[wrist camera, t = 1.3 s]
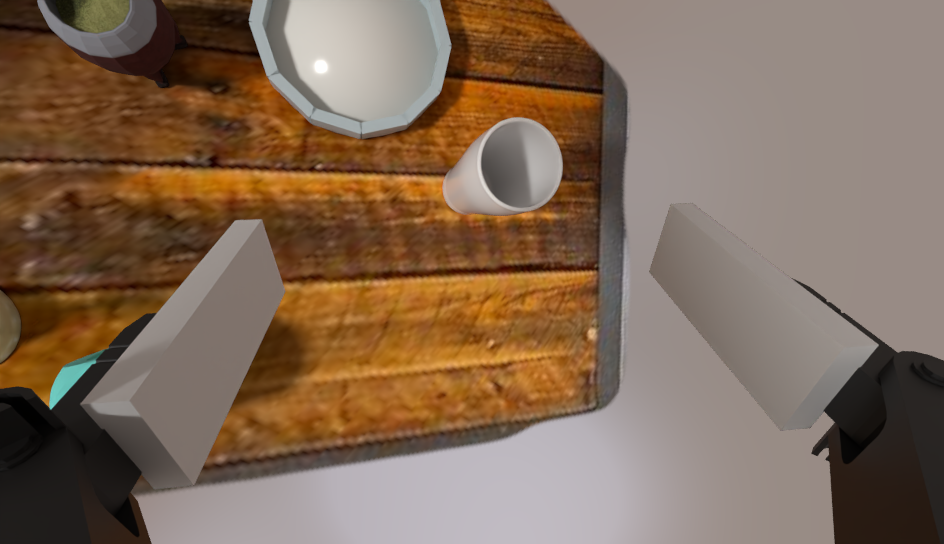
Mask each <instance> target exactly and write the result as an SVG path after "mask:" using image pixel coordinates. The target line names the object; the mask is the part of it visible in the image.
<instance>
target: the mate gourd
mask: <svg viewBox="0 0 944 544" xmlns="http://www.w3.org/2000/svg"><path fill="white" fill-rule="evenodd" d="M37 2H38V6H39V8H40V10H41V12H42V14H43V16H44V18H45V20H46V22H47V24H48V26H49V27H50V28H51V29H52V30H53V31H54V32H55V34H56V35H57V36H58V37H59V38H60V39H61V40H62V41H64V42H65V43H66V44H67V45H68V46H69V47H70V48H71V49H72V50H74V51H75V52H76V53H77V54H78V55H79V56H80V57H81V58H83V59H85V60H87V61H89V62H92V63H94V64H96V65H98V66H100V67H103V68H105V69H107V70H109V71H112V72H117V73H122V74H128V75H134V76H145V77H147V78H148V79H151V80H154V81H155V82H156V84H157V85H158V87H160V88H165V87H168V86H169V83H168V80H167V78H166V76H165V74H164V72H163V70H162V67H163V66H165V65H166V64H167V63H168V62H169V60H170V58H171V56H172V54H173V52H174V50H177V49H181V48H185V47H187V42H186V40H185V38H184V37H183V36H182V35H181V36H180V35H179V30H178V27H177V24H176V23H175V21H174V20H173V18H172V16H171V15H170V13H169V12H168V10H167V9H166V7H165V5H164V4H163V2H162V1H161V0H37Z"/></svg>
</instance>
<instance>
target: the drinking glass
mask: <svg viewBox="0 0 944 544" xmlns="http://www.w3.org/2000/svg"><path fill="white" fill-rule="evenodd" d="M562 172H563V161H562V155H561V151H560V148H559V146H558V144H557V142H556V140H555V138H554V137H553V135H552V134H551V133H550V132H549V131H548V130H547V129H546V128H545V127H544V126H543V125H541V124H539V123H538V122H536V121H533V120H531V119H527V118H520V117H517V118H509V119H506V120H503V121H501V122H499V123H497V124H496V125H494V126H493V127H491V128H490V129H488V130H487V131H485V132H484V133H483V134H481V135H480V136H479V137H478V138H477V139H476V140H475V141H474V142H473V143H472V144H471V145H470V146H469V147H468V149H467V150H466V151H465V153H464V154H463V155H462V157H461V158H460V159H459V161H458V162H457V163H456V165H455V166H454V167H453V168H452V169H451V170H450V171H449V172H448V173H447V174H446V176H445V178H444V181H443V195H444V198H445V201H446V202H447V204H448V205H449V206H450V207H451V208H452V209H453V210H454V211H456V212H458V213H461V214H465V215H471V214H482V215H494V216H508V215H516V214H520V213H524V212H528V211H532V210H535V209H537V208H539V207H541V206H543V205H544V204H545V203H547V202H548V201H549V200H550V199H551V198H552V197H553V195H554V194H555V192H556V191H557V189H558V187H559V184H560V182H561V178H562Z"/></svg>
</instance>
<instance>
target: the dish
mask: <svg viewBox="0 0 944 544" xmlns="http://www.w3.org/2000/svg"><path fill="white" fill-rule="evenodd" d="M249 24H250V27H251V30H252V33H253V36H254V39H255V42H256V45H257V48H258V51H259V54H260V57H261V60H262V63H263V66H264V69H265V72H266V75H267V77H268V79H269V81H270V83H271V84H272V86H273V87H274V88H275V89H276V90H277V91H278V92H279V93H280V94H281V95H282V96H283V97H284V98H285V99H286V100H287V101H288V102H289V103H290V104H291V105H292V106H293V107H294V108H295V109H296V110H297V111H298V112H300V113H301V114H302V115H303V116H304V117H305V118H306V119H307V120H308V121H309V122H310V123H312V124H313V125H316V126H319V127H322V128H325V129H327V130H330V131H332V132H335V133H338V134H342V135H346V136H351V137H355V138H358V139H360V138H362V139H366V138H370V137H378V136H384V135H388V134H391V133H394V132H398V131H402V130H405V129H407V128H408V127H409V126H410V125H411V124H412V123H413V122H414V121H415V120H416V119H417V118H419V117H420V116H421V115H422V114H423V113H424V111H425V110H426V109H427V108H428V107H429V106H430V105H431V104H432V103H433V102H434V101H435V100H436V99H437V97H438V96H439V94H440V92H441V89H442V85H443V81H444V77H445V72H446V68H447V64H448V60H449V55H450V51H451V41H450V38H449V34H448V30H447V26H446V22H445V19H444V15H443V11H442V7H441V3H440V0H253V4H252V8H251V12H250V17H249Z"/></svg>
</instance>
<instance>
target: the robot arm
mask: <svg viewBox="0 0 944 544" xmlns="http://www.w3.org/2000/svg"><path fill="white" fill-rule="evenodd" d="M649 272H650V273H651V275H652V276H653V277H654V278H655V280H656V281H657V282H658V283H659V284H660V286H661V287H662V288H663V289H664V290H665V292H666V293H667V294H668V295H669V297H670V298H671V299H672V300H673V301H674V303H675V304H676V305H677V306H678V307H679V309H680V310H681V311H682V312H683V313H684V314H685V316H686V317H687V318H688V319H689V321H690V322H691V323H692V324H693V326H694V327H695V328H696V329H697V330H698V332H699V333H700V334H701V335H702V336H703V338H704V339H705V340H706V341H707V343H708V344H709V345H710V346H711V347H712V349H713V350H714V351H715V352H716V353H717V355H718V356H719V357H720V358H721V359H722V361H723V362H724V363H725V364H726V366H727V367H728V368H729V369H730V370H731V372H732V373H733V374H734V375H735V376H736V378H737V379H738V380H739V381H740V382H741V384H742V385H743V386H744V387H745V388H746V390H747V391H748V392H749V393H750V394H751V396H752V397H753V398H754V399H755V401H756V402H757V403H758V404H759V405H760V407H761V408H762V409H763V410H764V411H765V413H766V414H767V415H768V416H769V417H770V419H771V420H772V421H773V422H774V424H775V425H776V426H777V427H778V428H779V430H780V431H783V430H794V429H806V428H811V427H812V425H813V424H814V423H815V422H816V420H817V419H818V418H819V417H820V416H821V414H822V413H823V412H824V411H825V413H826V414H827V415H828V416H829V417H830V418H831V419H833V421H834V422H835V423H834V424H833V425H832V427H831V428H830V429H829V430H828V431H827V432H826V434H825V435H824V436H823V437H822V438H821V439H820V440H819V441H818V443H817V444H816V445H815V446H814V447H813V450H812V454H814V455H816V456H818V455H819V453H820V452H821V451H822V450H823V449H824V448H829V456H828V457H827V458H826V460H827V461H829V462H830V474H831V491H832V507H833V523H834V539H835V544H944V361H943V360H941V359H938V358H935V357H933V356H930V355H927V354H922V353H918V352H914V351H913V352H912V351H911V352H909V351H902V352H899V353H897V352H896V351H895V350H893V349H892V348H891V347H889V346H888V345H887V344H885V343H884V342H882V341H881V340H880V339H878V338H877V337H876V336H875V335H873V334H872V333H871V332H869V331H868V330H867V329H865V328H864V327H862V326H861V325H860V324H859V323H857V322H856V321H855V320H853V319H852V318H851V317H849V316H848V315H846V314H845V313H841V310H840V309H838V308H837V307H836V306H834V305H833V304H832V303H830V302H827V301H826V299H825V298H824V297H822V296H821V295H820V294H818V293H817V292H816V291H814V290H813V289H812V288H810V287H808V286H807V285H805V284H803V283H801V282H798V281H796V280H794V279H792V278H790V277H789V276H788V275H786V274H785V273H784V272H782V271H781V270H780V269H778V268H777V267H776V266H774V265H773V264H772V263H770V262H769V261H768V260H766V259H765V258H764V257H763V256H761V255H760V254H759V253H757V252H756V251H755V250H753V249H752V248H751V247H749V246H748V245H747V244H746V243H744V242H743V241H742V240H740V239H739V238H738V237H736V236H735V235H734V234H732V233H731V232H730V231H728V230H727V229H726V228H724V227H723V226H722V225H720V224H719V223H718V222H717V221H715V220H714V219H712V218H711V217H710V216H709V215H707V214H706V213H705V212H703V211H702V210H701V209H699V208H698V207H697V206H696V205H694V204H693V203H685V204H671V205H670V208H669V211H668V215H667V217H666V221H665V224H664V227H663V230H662V233H661V236H660V240H659V243H658V246H657V249H656V252H655V255H654V258H653V261H652V264H651V268H650V271H649ZM284 293H285V289H284V286H283V283H282V280H281V277H280V274H279V271H278V268H277V265H276V262H275V259H274V255H273V252H272V249H271V246H270V243H269V240H268V237H267V234H266V231H265V228H264V225H263V222H262V220H236V221H235V222H234V223H233V224H232V225H231V226H230V227H229V229H228V230H227V231H226V232H225V233H224V235H223V236H222V237H221V238H220V239H219V240H218V242H217V243H216V244H215V245H214V246H213V248H212V249H211V250H210V251H209V252H208V254H207V255H206V256H205V257H204V258H203V259H202V261H201V262H200V263H199V264H198V265H197V267H196V268H195V269H194V270H193V271H192V272H191V274H190V275H189V276H188V277H187V278H186V280H185V281H184V282H183V283H182V284H181V285H180V287H179V288H178V289H177V290H176V291H175V293H174V294H173V295H172V296H171V297H170V298H169V300H168V301H167V302H166V303H165V304H164V306H163V307H162V308H161V309H160V310H159V311H158V313H152V314H145V315H144V316H142V317H141V318H139V319H138V320H136V321H135V322H133V323H132V324H131V325H129V326H128V327H126V328H125V329H123V331H122V332H121V333H120V334H119V335H118V336H117V337H116V338H115V339H114V341H113V342H112V343H111V344H110V345H109V349H105V350H104V352H103V353H102V354H101V355H100V356H99V357H98V358H97V359H96V363H95V364H92V365H91V366H90V367H89V368H88V369H87V370H86V371H85V373H84V374H83V375H82V376H81V377H80V378H79V379H78V380H77V381H76V383H75V384H74V385H73V386H72V387H71V388H70V389H69V390H68V391H67V392H66V394H65V395H64V396H63V397H62V398H61V399H60V400H59V401H58V402H57V403H56V405H55V406H54V407H53V408H52V409H50V408H49V407H48V406H47V405H46V404H45V403H44V402H43V401H42V400H41V399H40V398H39V397H38V396H37V395H36V394H35V393H34V391H33V390H32V389H29V388H24V387H11V388H4V389H0V544H151V541H150V538H149V535H148V531H147V529H146V525H145V522H144V519H143V516H142V513H141V511H140V507H139V504H138V501H137V500H136V499H135V497H134V496H133V495H132V494H131V493H130V492H131V490H132V489H133V487H134V485H135V484H136V482H137V480H138V478H139V477H140V475H141V474H142V476H143V477H144V478H145V479H146V480H147V481H148V482H149V483H150V485H151V486H152V487H153V488H154V489H162V488H172V487H183V486H194V484H195V482H196V480H197V478H198V476H199V474H200V471H201V469H202V467H203V465H204V463H205V461H206V459H207V457H208V454H209V452H210V450H211V448H212V446H213V444H214V442H215V440H216V437H217V435H218V433H219V431H220V429H221V427H222V425H223V423H224V420H225V418H226V416H227V414H228V412H229V410H230V408H231V406H232V403H233V401H234V399H235V397H236V395H237V393H238V391H239V389H240V386H241V384H242V382H243V380H244V378H245V376H246V374H247V372H248V369H249V367H250V365H251V363H252V361H253V359H254V357H255V355H256V352H257V350H258V348H259V346H260V344H261V342H262V340H263V338H264V335H265V333H266V331H267V329H268V327H269V325H270V323H271V321H272V318H273V316H274V314H275V312H276V310H277V308H278V306H279V304H280V301H281V299H282V297H283V295H284Z"/></svg>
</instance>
